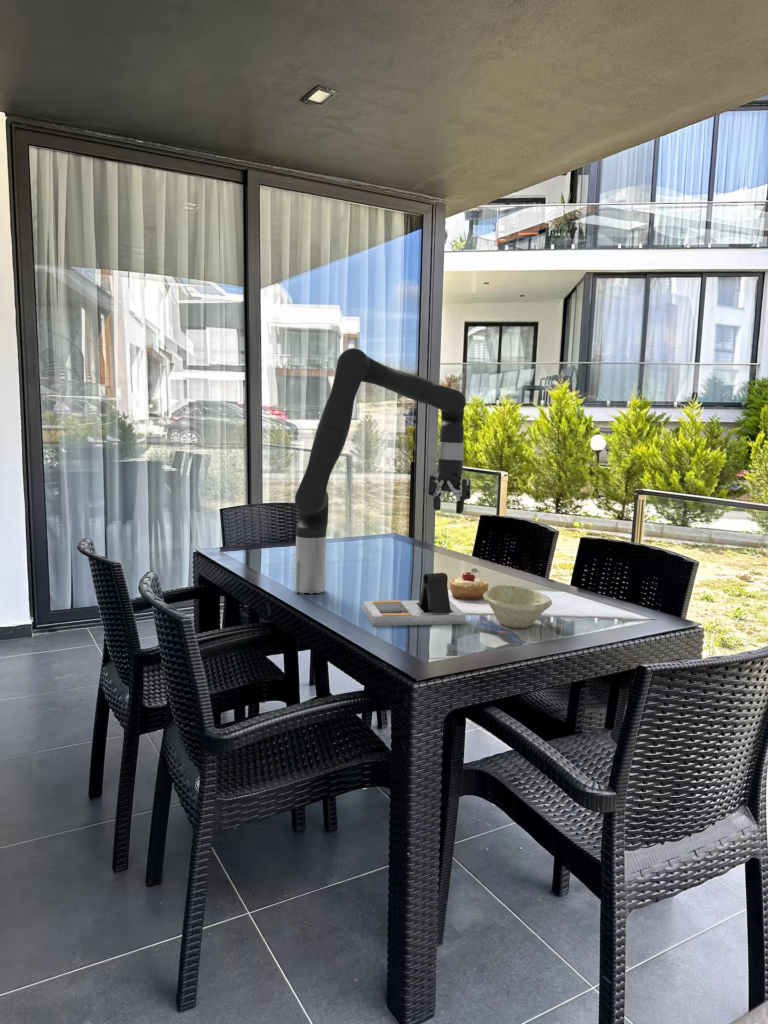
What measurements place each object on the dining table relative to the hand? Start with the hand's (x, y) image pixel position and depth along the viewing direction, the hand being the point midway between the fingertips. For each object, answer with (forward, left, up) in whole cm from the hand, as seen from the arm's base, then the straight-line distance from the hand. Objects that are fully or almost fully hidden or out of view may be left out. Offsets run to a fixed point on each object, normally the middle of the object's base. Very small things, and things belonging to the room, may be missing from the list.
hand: (448, 511), depth 221 cm
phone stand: (-9, -21, -27) cm, 35 cm away
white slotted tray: (-15, -21, -26) cm, 37 cm away
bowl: (+11, -31, -27) cm, 43 cm away
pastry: (+8, +1, -27) cm, 28 cm away
